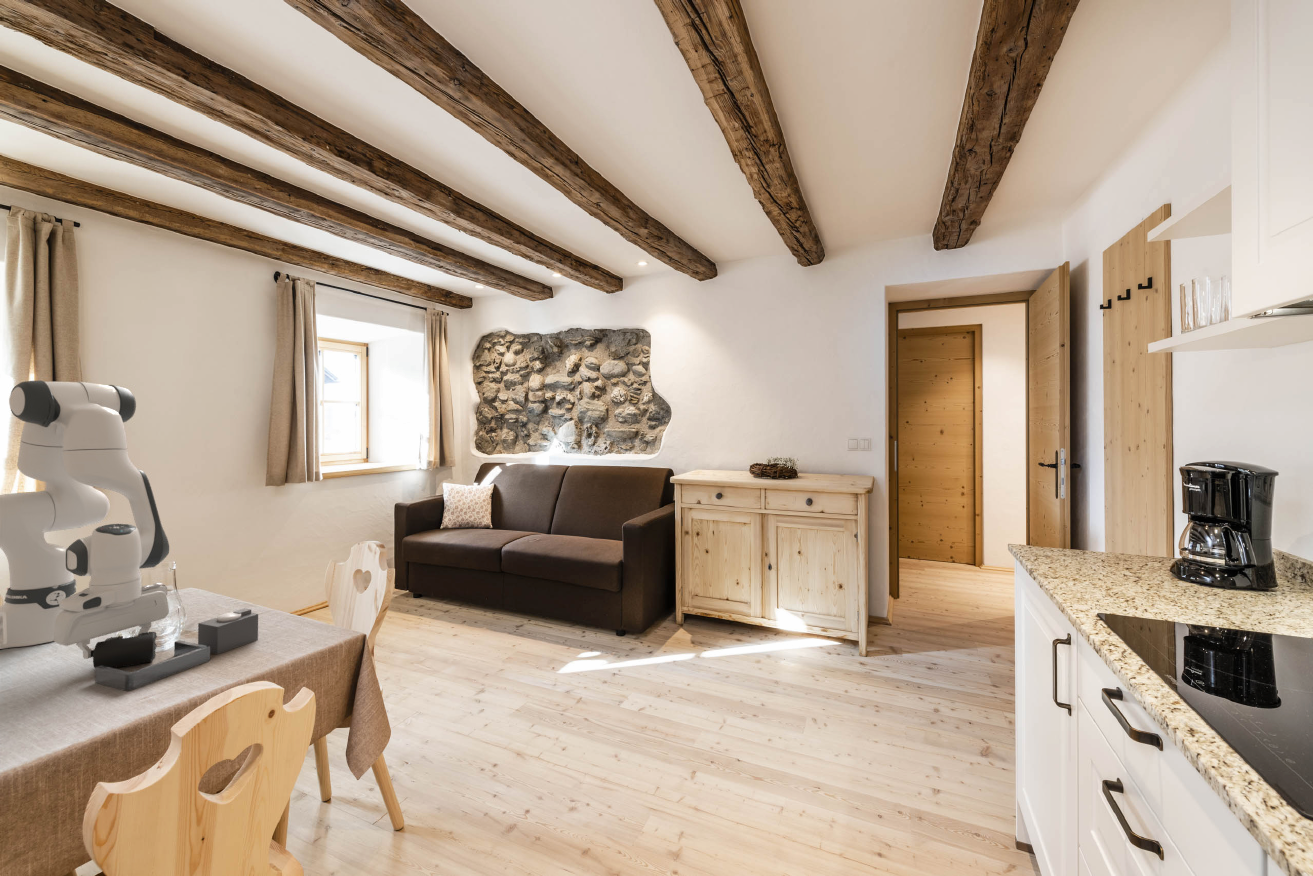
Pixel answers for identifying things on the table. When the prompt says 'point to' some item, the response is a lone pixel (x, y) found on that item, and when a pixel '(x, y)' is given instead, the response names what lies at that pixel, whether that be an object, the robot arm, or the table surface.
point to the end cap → (125, 650)
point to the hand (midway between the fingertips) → (115, 649)
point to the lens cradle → (154, 667)
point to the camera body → (228, 631)
